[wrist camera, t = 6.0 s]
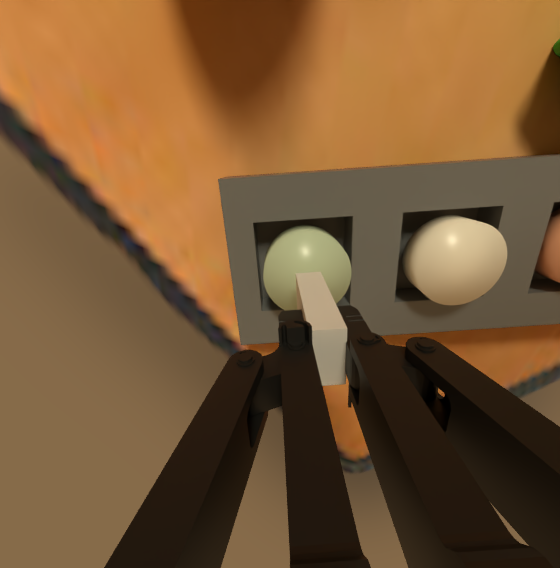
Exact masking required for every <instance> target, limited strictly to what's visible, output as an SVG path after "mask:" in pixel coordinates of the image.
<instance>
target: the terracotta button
mask: <svg viewBox="0 0 560 568" xmlns="http://www.w3.org/2000/svg"><path fill="white" fill-rule="evenodd" d="M534 271H535V272H536V273H538V274H540V275H542V276H544V277H547V278H549V279H552V280H554V281H556V282H559V283H560V209H558V210H556V211H555V212H553V213H552V214H551V215H550V218H549V222H548V225H547V229H546V232H545V235H544V239H543V242H542V246H541V249H540V253H539V256H538V259H537V263H536V266H535V270H534Z"/></svg>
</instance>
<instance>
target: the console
mask: <svg viewBox="0 0 560 568" xmlns="http://www.w3.org/2000/svg"><path fill="white" fill-rule="evenodd" d="M218 182H219V189H220V196H221V203H222V211H223V218H224V225H225V232H226V240H227V247H228V254H229V262H230V269H231V276H232V283H233V291H234V298H235V305H236V312H237V320H238V327H239V334H240V342H241V345H248V344H263V343H278V342H279V334H278V327H279V320H278V316H279V314H280V313H281V312H282V311H285V310H284V309H282V308H280V307H279V306H278V305H277V304H275V303H274V302H273V300H272V299H271V298H270V296H269V295H268V293H267V291H266V288H265V285H264V279H263V272H264V262H265V255H266V252H267V249H268V247H269V246H270V244H271V242H272V241H273V240H274V239H275V238H276V237H277V236H278V235H279V234H280V233H281V232H283V231H285V230H287V229H289V228H291V227H295V226H300V225H311V226H316V227H319V228H322V229H324V230H325V231H327V232H329V233H330V234H331V235H332V236H333V237H334V238H335V239H336V240H337V241H338V243H339V244H340V245H341V246H342V247H343V249H344V250H345V252H346V253H347V255H348V257H349V260H350V264H351V280H350V284H349V287H348V289H347V291H346V293H345V295H344V296H343V297H342V299H341V300H340V301H339V302H338V303H337V304H336V305H337V306H346V305H351V306H353V307H355V308H356V309H358V311H359V312H360V314H361V316H362V317H363V319H364V320H365V322H366V324H367V325H368V327H369V329H370V330H371V332H372V333H376V334H378V335H380V336H384V335H399V334H414V333H429V332H444V331H459V330H474V329H489V328H504V327H519V326H535V325H550V324H560V283H559V282H556V281H554V280H552V279H549V278H547V277H544V276H542V275H540V274H538V273H536V272H535V271H534V270H535V266H536V263H537V259H538V256H539V253H540V249H541V246H542V242H543V239H544V235H545V232H546V229H547V225H548V222H549V218H550V215H551V214H552V213H553V212H555V211H556V210H558V209H560V154H550V155H535V156H521V157H507V158H492V159H478V160H463V161H449V162H434V163H420V164H405V165H391V166H376V167H362V168H347V169H333V170H319V171H304V172H290V173H275V174H261V175H246V176H232V177H225V178H221V179H218ZM446 215H456V216H461V217H465V218H468V219H472V220H476V221H479V222H483V223H486V224H489V225H491V226H493V227H494V228H496V229H497V230H498V231H499V232H500V233H501V235H502V236H503V238H504V240H505V242H506V246H507V261H506V265H505V268H504V270H503V273H502V274H501V276H500V278H499V279H498V281H497V282H496V283H495V285H494V286H493V287H492V288H491V289H490V290H489V291H487V292H486V293H485V294H483V295H482V296H481V297H479V298H477V299H475V300H473V301H471V302H468V303H465V304H461V305H443V304H439V303H436V302H434V301H432V300H431V299H429V298H428V297H427V296H426V295H424V294H423V293H422V292H421V291H420V290H419V289H417V288H416V287H415V286H414V285H413V284H412V283H411V282H410V281H409V280H408V279H407V277H406V275H405V273H404V270H403V265H402V258H403V252H404V249H405V246H406V244H407V242H408V240H409V239H410V237H411V236H412V235H413V233H414V232H415V231H416V230H417V229H418V228H419V227H421V226H422V225H423V224H425V223H426V222H428V221H430V220H432V219H434V218H437V217H440V216H446Z"/></svg>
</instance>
